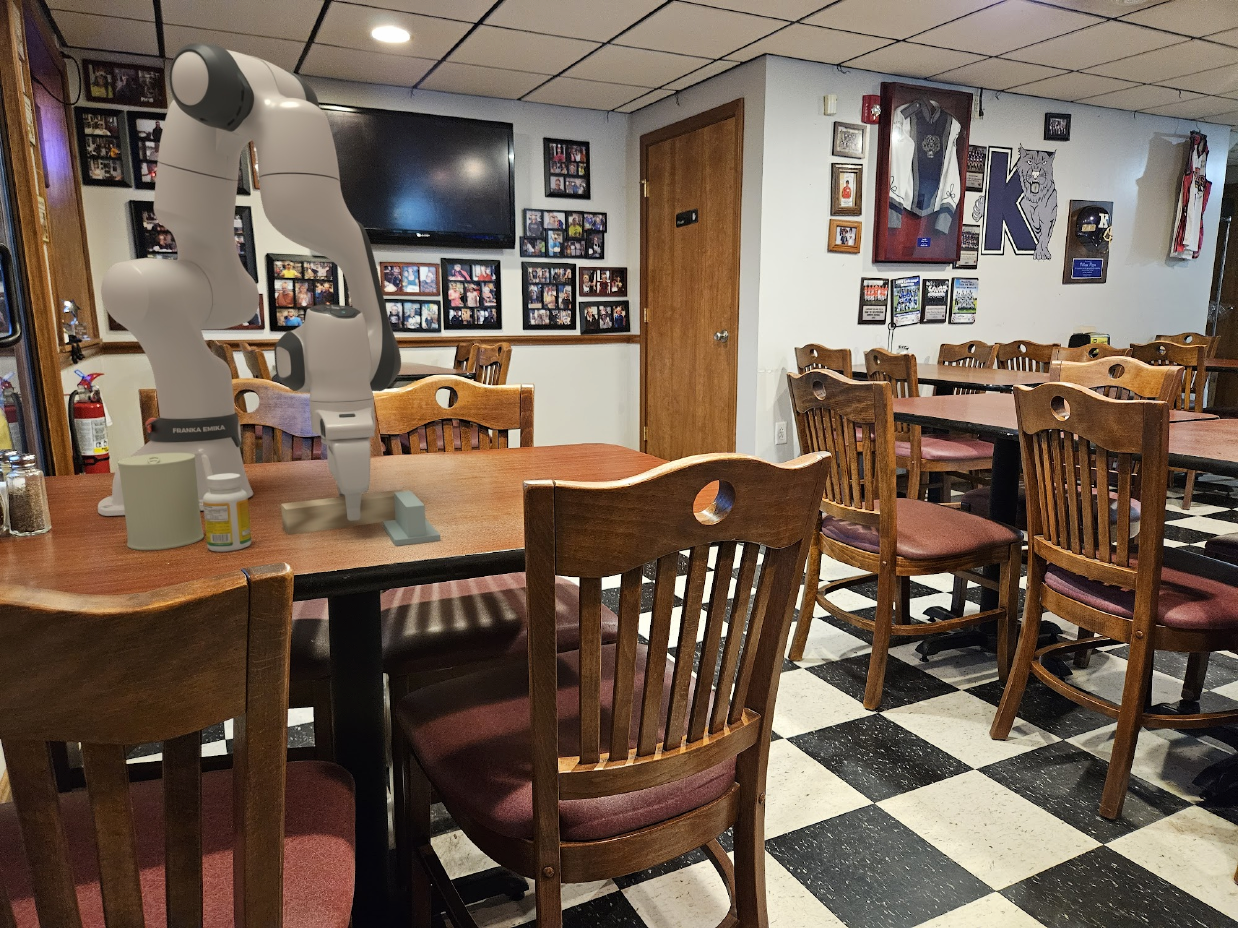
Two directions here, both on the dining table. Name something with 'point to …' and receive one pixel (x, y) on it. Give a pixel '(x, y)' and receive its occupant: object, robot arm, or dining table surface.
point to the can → (160, 500)
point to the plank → (336, 512)
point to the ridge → (409, 521)
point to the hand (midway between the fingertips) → (349, 512)
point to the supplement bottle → (226, 513)
